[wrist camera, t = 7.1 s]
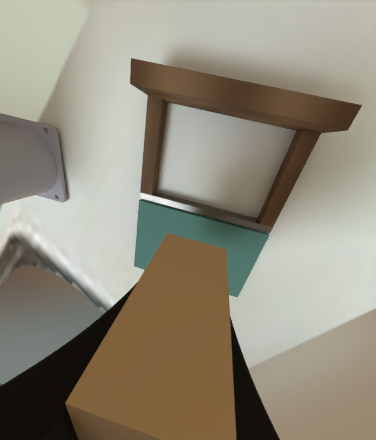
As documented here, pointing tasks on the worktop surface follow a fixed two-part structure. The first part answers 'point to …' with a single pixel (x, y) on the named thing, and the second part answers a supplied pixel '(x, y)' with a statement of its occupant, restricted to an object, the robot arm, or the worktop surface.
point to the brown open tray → (242, 108)
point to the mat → (198, 239)
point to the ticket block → (164, 355)
